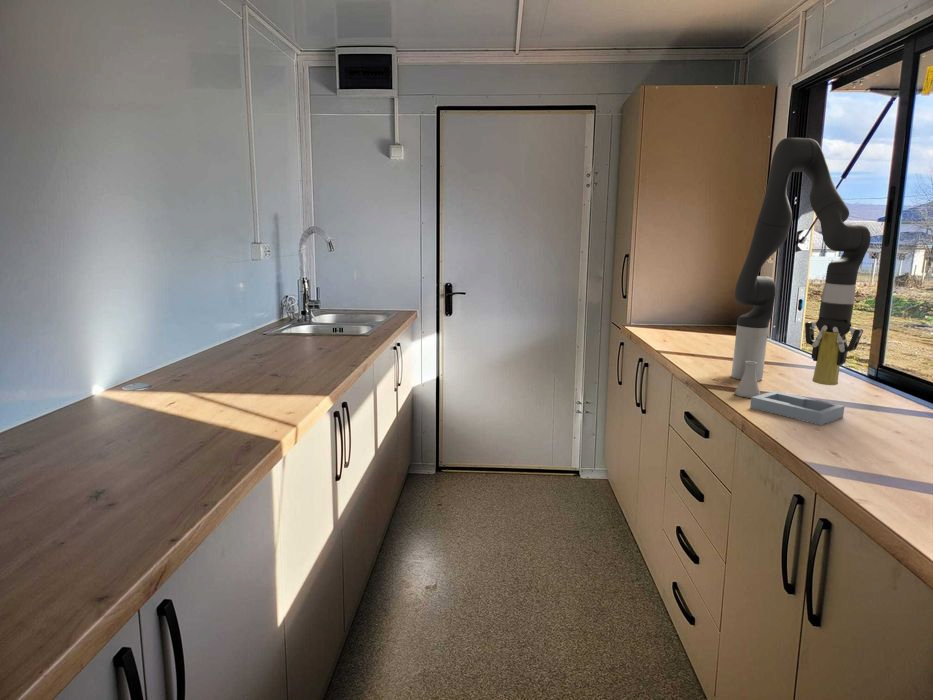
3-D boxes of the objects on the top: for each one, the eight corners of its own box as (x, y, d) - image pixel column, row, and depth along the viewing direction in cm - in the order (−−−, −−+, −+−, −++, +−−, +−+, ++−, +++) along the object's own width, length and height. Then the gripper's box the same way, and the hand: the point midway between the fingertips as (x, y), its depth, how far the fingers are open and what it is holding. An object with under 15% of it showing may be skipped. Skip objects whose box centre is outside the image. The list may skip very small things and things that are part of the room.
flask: (763, 399, 175) (768, 365, 173) (736, 397, 177) (740, 363, 175) (757, 393, 182) (761, 360, 180) (731, 391, 184) (735, 358, 182)
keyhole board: (773, 401, 174) (775, 390, 173) (843, 417, 160) (844, 405, 159) (750, 407, 166) (751, 397, 165) (820, 425, 152) (822, 413, 152)
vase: (828, 386, 164) (837, 333, 161) (807, 380, 169) (814, 329, 166) (842, 384, 167) (851, 332, 164) (820, 378, 172) (828, 328, 169)
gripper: (873, 303, 160) (862, 366, 164) (815, 296, 171) (806, 356, 175) (861, 305, 156) (850, 370, 159) (803, 298, 167) (794, 359, 170)
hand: (827, 362), depth 167 cm, fingers closed on vase, 5 cm apart
